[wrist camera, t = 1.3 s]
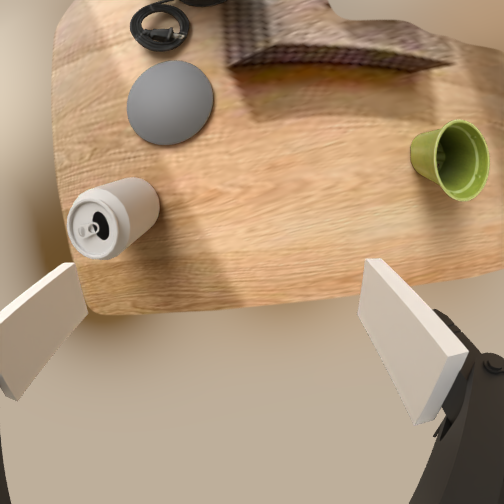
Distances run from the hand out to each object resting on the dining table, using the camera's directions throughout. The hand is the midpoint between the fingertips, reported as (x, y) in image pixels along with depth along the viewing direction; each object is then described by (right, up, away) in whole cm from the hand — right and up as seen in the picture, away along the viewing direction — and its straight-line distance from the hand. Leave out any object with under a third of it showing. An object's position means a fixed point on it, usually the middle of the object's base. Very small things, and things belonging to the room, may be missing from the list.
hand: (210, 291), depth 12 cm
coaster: (-8, +20, +19) cm, 29 cm away
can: (-14, +8, +24) cm, 29 cm away
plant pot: (+26, +15, +21) cm, 36 cm away
